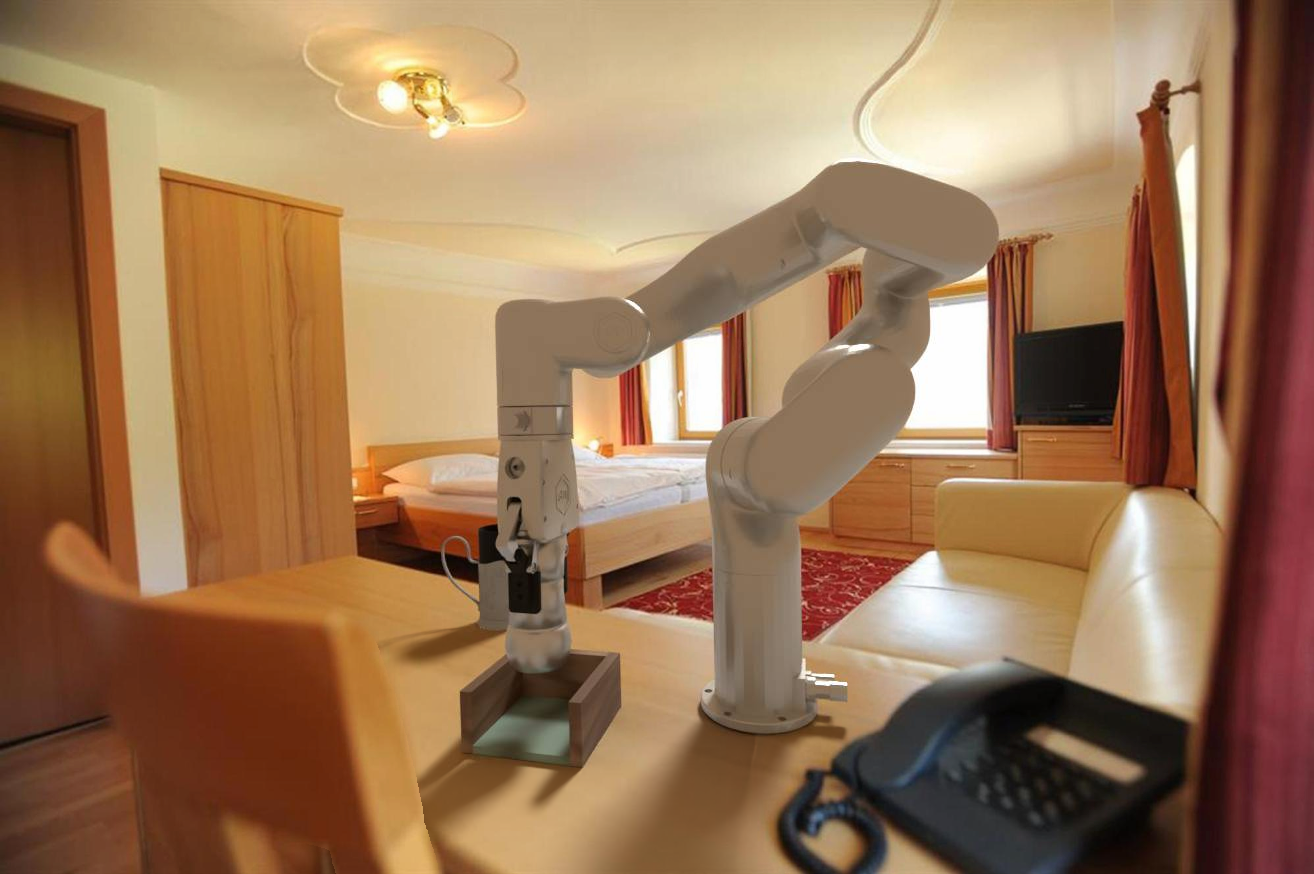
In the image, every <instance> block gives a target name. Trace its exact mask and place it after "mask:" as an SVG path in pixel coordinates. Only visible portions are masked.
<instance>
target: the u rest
mask: <svg viewBox="0 0 1314 874" xmlns="http://www.w3.org/2000/svg"><path fill="white" fill-rule="evenodd" d="M621 676H622V673H621V652H615V651H614V652H611V651H602V650H601V651H600V650H588V649H587V650H586V649H575V648H571V650H570V656H569V658H568V660H567V661H566V663H565V664H564V665H563V666H562V667H561V668H559V669H557V670H554V671H551V672H546V673H536V674H531V673H523V672H519V671H517V670H515V669H514V668H513V667H512V665H511V664H510V663H509V661H508V658H507V653H505V654H504V655H503V656H502V657H501V658H499V659H498V660H497V661H495V662H494V663H493V664H492V665H491V666H489V667H488V668H487V669H485V670H484V671H483V672H482V673H481V674H479V675H478V676H477V677H475V679H473V680H472V681H471V682H469V683H468V684H466V686H464V687H463V688H462V689H460V690H459V705H460V706H459V712H460V713H459V715H460V716H459V717H460V741H461V742H460V743H461V745H460V746H461V753H462V754H471V755H478V756H479V755H480V756H488V757H496V758H504V759H513V760H518V761H519V760H520V761H528V762H537V763H545V764H551V765H552V764H553V765H558V766H559V765H560V766H567V767H568V766H569V767H576V768H584V765H585V764H586V763H587V761H588V760H589V758H590V757H591V755H592V753H593V752H594V751H595V749H596V747H597V745H598V744H599V743H600V740H601V739H602V737H603V736H604V734H605V733H606V731H607V730H608V728H609V727H610V725H611V723H612V722H613V720H614V718H615V717H616V715H617V714H618V712H619V711H620V709H621V707H622V682H621V681H622V679H621Z"/></svg>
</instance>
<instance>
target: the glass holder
mask: <svg viewBox="0 0 1314 874" xmlns="http://www.w3.org/2000/svg"><path fill="white" fill-rule="evenodd" d="M477 529H478V531H477V532H478V560H474V559H473V558H472V557H471V548H470V545H469V543H468V541H467V540H466V539H465V538H463V537H462V536H458V535H453V536H450V537H448V538H447V539H445V540H444V541H443V542H442V545H441V550H440V551H441V552H440V553H441V554H440V555H441V562H442V566H443V571H444V572H445V574H446V576H447V578H448V579H449V581H450V582H451V584H452V585H453V586H454V587H455V588H456V589H458V590H459V591H460V592H461V593H462V594H464V595H465V596H466V597H467V598H469V599H470V600H471V601H473V602H474V603H475V604H476V605H477V608H478V609H477V610H478V612H479V617H478V620H477V623H476V625H477V624H478V626H479V627H481V628H484V629H486V630H485V631H490V630H494V631H493V632H497V631H498V632H501V631H503V630H505V631H507V627H508V624H509V596H508V573H507V572H506V570H505V564H506V563H505V562H504V560H503V557H502V555H501V553H500V552H499V551H498V549H497V548H496V540H497V537H498V534H499V531H498V523H495V524H488V525H483V526H481V527H478V528H477ZM453 539H454V540H455V539H458V540H460V541H461V542H462V543H463V544H464V546H465V547H466V556H467V559H468V561H469V563H472V564H477V565H478V566H477V567H478V572H477V573H478V594H479V595H478V596H479V597H478V599H479V600H478V599H476V598H475V597H474V596H473V595H472V594H471V593H469V592H468V591H466V590H465V589H464V588H463V587H462V586H461V585H460V584H459V583H458V582H456V580H455V579H454V578H453V576H452V575H451V572H450V570H449V568H448V566H447V562H446V558H445V546H446V545H447V542H449V541H450V540H453ZM478 626H477V627H478ZM479 627H478V628H479ZM481 628H480V629H481ZM484 629H483V630H484ZM503 632H504V631H503Z"/></svg>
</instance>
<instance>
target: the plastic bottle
mask: <svg viewBox="0 0 1314 874" xmlns="http://www.w3.org/2000/svg"><path fill="white" fill-rule="evenodd" d="M567 526H568V525H567V523H566V522H564V523H562V525H561V528H560V530H561V535H560V536H559V537H557V538H556V539H554V540H552V541H550V542H548V543H540V547H539V555H538V562H537V569H536V572H541V611H540V612H539V613H538V614H525V613H512V612H510V611H509V624H508V627H507V630H506V634H505V641H504V642H505V644H504V645H505V646H504V648H505V652H506V653H505V654H507V658H508V661H509V663H510V664H511V665H512V667H513V668H514V669H515V670H517V671H519V672H523V673H531V674H536V673H546V672H551V671H554V670H557V669H559V668H561V667H562V666H563V665H564V664H565V663H566V661H567V660H568V658H569V656H570V650H571V649H572V642H573V641H572V634H571V628H570V624H569V620H568V616H567V605H566V599H565V594H564V579H563V576H564V558H565V556H566V555H565V549H566V540H567V541H568V538H567V535H566V534H567ZM517 539H531V538H530V536H529V534H528V532H525V531H519V532H518V535H517ZM518 548H519V549H523V550H524V552H525V554H526V555H527V557H528V553H529V547H525V546H518Z"/></svg>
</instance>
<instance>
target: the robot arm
mask: <svg viewBox="0 0 1314 874" xmlns="http://www.w3.org/2000/svg"><path fill="white" fill-rule="evenodd" d="M997 220H998V219H997V218H996V216H995V214H994V212H993V209H991V208H990V207H989V205H988V204H987V203H986V202H985V201H984V200H982V199H981V198H980V197H978V196H977V195H976V194H974V193H972V192H970V191H967V190H965V189H963V188H960V187H957V186H954V185H951V184H949V183H946V182H942V181H940V180H937V179H934V178H930V177H927V176H924V175H922V174H919V173H915V172H912V171H909V170H906V169H903V168H900V167H897V166H893V165H890V164H887V163H884V162H883V163H882V162H878V161H874V160H869V159H863V158H847V159H846V158H845V159H840V160H838V161H834V162H833V163H831V164H829V165H828V166H827V167H825V168H823V169H822V171H820V172H819V173H818V174H817V175H815V177H814V178H812V179H811V180H810V181H809V182H808V183H807V184H805V186H804V187H802V188H801V189H800V190H797V192H794V193H793V194H792V195H789V196H788V197H786V198H784V199H782V200H781V201H778V202H777V203H774V204H772V205H771V206H769V207H767V208H766V209H764V210H761V211H759V212H758V213H756V214H754V215H752V216H751V217H749V218H746V219H745V220H742V221H740V222H739V223H737V224H735V225H733V226H730V227H729V228H726V229H724V230H723V231H721V232H719V233H716V234H715V235H712V236H711V237H709V238H708V239H706V240H704V241H703V242H702V243H701V244H699V245H698V246H697V245H696V247H694V249H692V250H690V251H689V252H688V254H686V255H685V256H684V257H682V259H681V260H680V261H678V262H677V263H676V264H675V265H674V266H673V267H672V268H670V269H669V270H668V271H666V272H665V273H663V274H662V275H660V276H659V277H658V278H657V279H655V280H654V281H652V282H651V283H649V284H647V285H645V286H643V287H641V288H640V289H639V290H637V291H635V292H633V293H632V294H630V295H628V296H626V297H618V296H599V297H593V298H584V299H578V300H577V299H576V300H564V301H554V300H549V299H540V298H538V299H537V298H521V299H512V300H509V301H506V302H503V303H501V304H500V306H499V307H498V308H497V309H496V313H495V316H494V317H495V320H494V321H495V324H494V329H495V330H494V332H495V333H494V334H495V337H494V338H495V370H496V371H495V373H496V377H495V378H496V407H497V412H496V413H497V441H500V445H499V455H498V468H497V483H496V484H497V485H496V487H497V489H496V515H497V517H496V518H497V524H498V531H499V534H498V537H497V540H496V548H497V549H498V551H499V552H500V553H501V555H502V557H503V560H504V562H505V563H506V564H505V570H506V572H507V573H508V596H509V611H510V612H512V613H525V614H538V613H539V612H540V611H541V572H536V569H537V562H538V555H539V547H540V543H548V542H550V541H552V540H554V539H556V538H557V537H559V536H560V535H561V530H560V528H561V525H562V523H564V522H566V523H567V525H568V526H567V534H566V535H567V540H566V549H565V558H564V576H563V579H564V595H565V594H566V593H567V592H568V590H569V587H568V556H567V555H568V553H569V544H568V539H569V538H568V537H569V535H570V532H572V531H573V530H574V529H575V528H577V527H578V525H579V521H580V512H579V510H580V507H579V494H578V478H577V467H576V459H575V452H574V447H573V442H572V440H573V439H574V437H575V436H574V397H573V394H574V393H573V389H574V388H573V371H574V370H575V369H577V370H582V371H583V372H584V373H586V374H588V375H589V376H591V377H594V378H598V379H611V378H612V379H613V378H616V377H618V376H619V377H620V376H621V375H622V374H624V373H626V372H628V371H629V370H631V369H634V367H636V366H638V365H640V364H643V362H644V363H645V361H647V360H649V359H651V358H653V357H655V356H657V355H658V354H660V353H662V352H663V351H665V350H667V349H669V348H671V347H674V346H675V345H677V344H679V343H680V342H682V341H685V340H686V339H689V338H690V337H693V336H694V335H696V334H698V333H700V332H703V331H705V330H707V329H710V328H713V327H716V326H718V325H721V324H723V323H725V322H728V321H729V320H731V319H733V318H736V317H737V316H738V315H741V314H742V313H743V314H744V312H747V311H749V310H750V309H752V308H754V307H755V306H757V305H759V304H761V303H763V302H765V301H766V300H768V299H770V298H771V297H773V296H776V295H777V294H779V293H781V292H783V291H785V290H786V289H788V288H790V287H792V286H794V285H795V284H797V283H799V282H801V281H803V280H805V279H807V278H808V277H810V276H812V275H814V274H816V273H817V272H820V271H821V270H823V269H825V268H826V267H829V266H831V265H832V264H834V263H835V262H837V261H840V260H841V259H842V258H843V257H846V256H848V255H850V254H851V253H853V252H855V251H857V250H859V249H861V248H863V249H866V250H865V252H864V255H863V259H862V262H861V263H862V264H861V279H862V281H861V282H862V291H863V292H862V293H863V295H862V296H863V297H862V298H863V299H862V302H861V307H860V309H859V311H858V312H857V314H856V315H854V316H853V318H852V319H851V320H850V321H849V322H848V323H847V324H846V325H845V326H844V327H843V328H842V329H841V330H840V331H838V333H837V334H836V335H834V336H833V337H832V338H831V339H830V340H828V342H827V343H825V344H824V345H823V346H822V347H821V348H819V350H817V351H816V352H814V354H813V355H811V356H810V357H809V358H807V359H806V360H805V361H804V362H802V363H801V364H800V365H799V366H798V367H797V368H796V369H795V370H794V371H793V372H792V373H791V374H790V376H789V378H788V379H787V381H786V382H785V385H784V388H783V390H782V395H781V396H782V397H781V408H780V410H779V411H778V412H776V413H775V414H774V415H773V416H748V417H742V418H738V419H736V420H733V421H731V422H729V423H727V424H725V426H723V427H722V428H721V429H720V430H718V432H717V433H716V434H715V436H714V437H713V438H712V440H711V442H710V443H709V444H710V445H709V446H708V449H707V453H706V458H705V483H706V492H707V499H708V506H709V514H710V526H711V546H712V547H711V548H712V549H711V551H712V557H711V559H712V604H713V605H712V609H713V610H712V611H713V612H712V615H713V618H712V619H713V657H714V660H713V663H714V669H713V670H714V673H713V674H714V679H712V680H710V681H709V682H708V683H706V684H705V685H704V687H703V688H702V690H701V692H700V705H701V709H702V711H703V712H704V714H706V715H707V716H708V717H709V718H710V719H711V720H712V721H714V722H716V723H718V724H720V725H721V726H724V727H726V728H729V729H733V730H736V731H739V732H746V733H750V734H765V735H767V734H770V735H771V734H779V733H780V734H781V733H787V732H792V731H794V730H798V729H800V728H802V727H805V726H806V725H808V724H810V722H812V721H813V720H814V719H815V718H816V717H817V714H818V712H819V705H818V704H819V703H818V700H825V701H826V700H827V701H828V700H829V701H831V702H839V703H848V683H847V682H845V681H844V682H843V681H835V674H833V673H814V672H813V673H812V670H810V669H809V670H808V669H807V667H806V665H807V664H806V662H807V661H806V659H807V658H806V657H805V658H804V657H803V626H802V625H803V622H802V621H803V620H802V617H803V616H802V613H803V612H802V611H803V610H802V605H803V604H802V545H801V533H800V525H799V520H798V517H801V516H804V515H807V514H808V513H811V512H814V511H815V510H816V509H818V508H820V507H821V506H822V505H824V504H825V503H826V502H827V501H829V500H830V499H831V498H832V497H834V496H835V495H836V494H837V493H838V492H840V490H841V489H842V488H843V487H844V486H846V485H847V484H848V483H849V482H850V481H851V480H853V478H854V477H855V476H857V475H858V474H859V473H860V472H861V471H862V470H863V469H864V468H865V467H866V466H867V465H868V464H870V462H871V461H873V460H874V458H876V457H877V456H878V455H879V454H880V453H881V452H882V451H883V450H884V449H885V448H886V447H887V446H888V445H890V443H891V442H892V441H893V440H894V439H895V438H896V437H897V436H898V435H899V434H900V433H901V431H902V430H903V428H904V427H905V425H906V424H907V422H908V421H909V418H910V416H911V414H912V411H913V409H914V404H915V400H916V382H915V378H914V374H913V373H912V370H911V369H912V368H914V367H915V365H916V364H918V362H919V361H920V359H921V358H922V356H923V355H924V353H925V352H926V350H927V348H928V345H929V342H930V337H931V308H930V307H931V306H930V301H929V292H931V291H934V290H937V289H939V288H942V287H946V286H949V285H951V284H955V283H957V282H961V281H963V280H965V279H968V278H970V277H972V276H974V275H976V274H977V273H978V272H979V271H981V270H982V269H984V268H985V267H986V265H988V263H989V262H990V261H991V260H992V258H993V256H994V255H995V254H996V251H997V248H998V245H999V239H1000V238H999V237H1000V231H999V230H1000V229H999V224H998V221H997ZM519 531H525V532H528V534H529V536H530V538H531V539H517V535H518V532H519ZM518 546H525V547H529V553H528V557H527V555H526V554H525V552H524V550H523V549H519V548H518Z"/></svg>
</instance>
